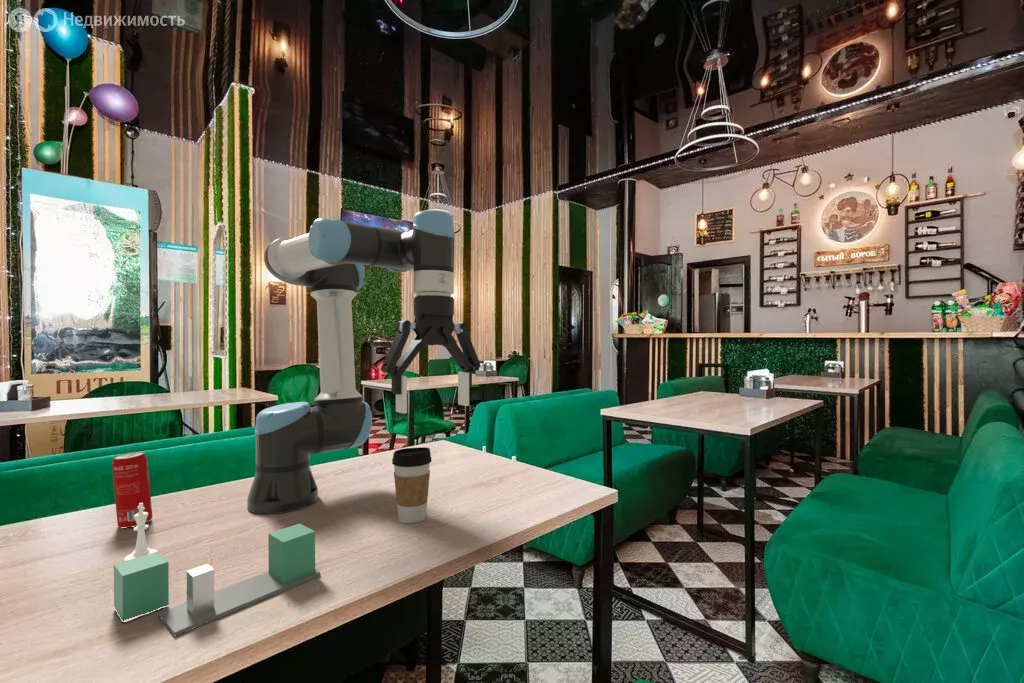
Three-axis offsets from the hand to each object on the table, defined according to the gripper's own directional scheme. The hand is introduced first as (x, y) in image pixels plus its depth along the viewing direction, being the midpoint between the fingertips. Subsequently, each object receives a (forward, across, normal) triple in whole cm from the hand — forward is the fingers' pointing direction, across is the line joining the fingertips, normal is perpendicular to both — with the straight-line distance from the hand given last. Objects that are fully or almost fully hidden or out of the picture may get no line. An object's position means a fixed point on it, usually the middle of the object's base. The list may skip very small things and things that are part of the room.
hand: (434, 408), depth 86 cm
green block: (+26, -42, +11) cm, 51 cm away
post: (+26, -36, +4) cm, 45 cm away
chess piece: (+26, -42, +30) cm, 58 cm away
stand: (+26, -30, +5) cm, 40 cm away
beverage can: (+26, -42, +52) cm, 72 cm away
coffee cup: (+26, +4, +15) cm, 30 cm away
